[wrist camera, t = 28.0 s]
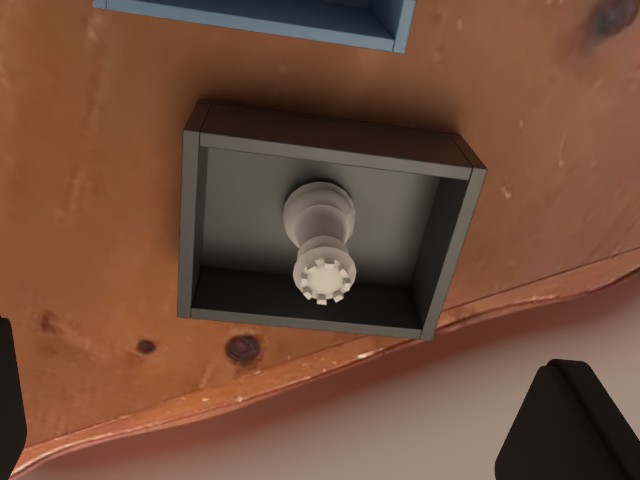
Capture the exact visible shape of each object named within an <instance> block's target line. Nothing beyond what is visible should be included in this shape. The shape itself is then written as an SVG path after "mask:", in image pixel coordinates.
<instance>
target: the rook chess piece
mask: <svg viewBox="0 0 640 480" xmlns="http://www.w3.org/2000/svg"><path fill="white" fill-rule="evenodd" d="M283 219H284V226H285V229H286V232H287V235H288V237H289V238H290V240H291V241H292V242H293V243H294V244H295V245H296V246H297V247H298V248H300V249H299V251H298V256H297V262H296V264H295V265H294V271H293V278H294V281H295V284H296V286H297V287H298V288H299V289H300V290H301V292H302V293H303V295H304V296H305V297H306V298H307V299H308V300H309V299H310V298H315V299H317V304H323V305H326V299H331V298H334V300H335V302H338V301H340V300H341V299H343V298H344V296H343V293H345V292H346V291H349V289H350V287H351V286H352V284H353V283H354V281H355V276H356V268H355V264H354V261H353V260H352V259H351V258H350V256H349V253H348V249H347V247H346V246H345V245H344V244H345V243H346V242H347V240H348V239H349V237H350V236H351V235H352V233H353V229H354V224H355V210H354V206H353V201H352V199H351V198H350V197H349V196H348V194H347V193H346V192H345V191H344V190H343V189H341V188H339V187H338V186H336V185H334V184H332V183H325V182H314V183H310V184H305V185H303V186H301V187H300V188H298V189H297V190H295V191H294V192H292V193H291V195H290V196H289V198H288V200H287V201H286V203H285V205H284V212H283Z"/></svg>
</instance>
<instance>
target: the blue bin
mask: <svg viewBox="0 0 640 480" xmlns="http://www.w3.org/2000/svg"><path fill="white" fill-rule="evenodd" d="M415 4H416V0H93V7H94V8H99V9H108V10H112V11H119V12H126V13H132V14H139V15H146V16H153V17H159V18H166V19H173V20H179V21H186V22H193V23H200V24H206V25H213V26H220V27H226V28H233V29H240V30H247V31H253V32H260V33H267V34H274V35H280V36H287V37H294V38H300V39H307V40H314V41H321V42H327V43H334V44H341V45H347V46H354V47H361V48H368V49H374V50H381V51H388V52H392V51H393V52H394V53H401V54H404V53H405V49H406V45H407V40H408V36H409V31H410V27H411V22H412V17H413V13H414V8H415Z"/></svg>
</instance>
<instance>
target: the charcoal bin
mask: <svg viewBox="0 0 640 480" xmlns="http://www.w3.org/2000/svg"><path fill="white" fill-rule="evenodd" d="M487 170H488V169H487V168H486V167H485V165H484V164H483V163H482V161H481V160H480V159H479V158H478V156H477V155H476V154H475V153H474V151H473V150H472V149H471V147H470V146H469V145H468V144H467V142H466V141H465V140H464V139H463V137H462V136H461V135H456V134H449V133H441V132H434V131H427V130H420V129H412V128H405V127H398V126H391V125H383V124H376V123H369V122H361V121H354V120H347V119H340V118H332V117H325V116H318V115H311V114H303V113H296V112H289V111H281V110H274V109H267V108H260V107H252V106H245V105H238V104H231V103H223V102H216V101H209V100H201V99H199V100H198V102H197V104H196V106H195V108H194V110H193V112H192V114H191V116H190V118H189V120H188V122H187V124H186V125H185V127H184V129H183V149H182V179H181V209H180V239H179V269H178V299H177V317H179V318H192V319H202V320H213V321H224V322H235V323H246V324H257V325H267V326H278V327H289V328H300V329H311V330H322V331H333V332H344V333H355V334H365V335H376V336H387V337H398V338H409V339H420V340H430V341H432V338H433V335H434V332H435V329H436V326H437V323H438V320H439V317H440V314H441V311H442V308H443V305H444V302H445V299H446V295H447V292H448V289H449V286H450V283H451V280H452V277H453V274H454V271H455V268H456V265H457V262H458V259H459V256H460V253H461V250H462V247H463V244H464V241H465V238H466V234H467V231H468V228H469V225H470V222H471V219H472V216H473V213H474V210H475V207H476V204H477V201H478V198H479V195H480V192H481V189H482V186H483V183H484V180H485V177H486V174H487ZM314 182H325V183H332V184H334V185H336V186H338V187H339V188H341V189H343V190H344V191H345V192H346V193H347V194H348V196H349V197H350V198H351V199H352V201H353V206H354V210H355V224H354V229H353V233H352V235H351V236H350V237H349V239H348V240H347V242H346V243H345V244H344V245H345V246H346V247H347V249H348V253H349V256H350V258H351V259H352V260H353V261H354V264H355V268H356V276H355V281H354V283H353V284H352V286H351V287H350V289H349V291H346V292H345V293H343V296H344V298H343V299H341V300H340V301H338V302H335V300H334V298H331V299H326V305H323V304H317V299H315V298H310V299H309V300H308V299H307V298H306V297H305V296H304V295H303V293H302V292H301V290H300V289H299V288H298V287H297V286H296V284H295V281H294V278H293V271H294V265H295V264H296V262H297V256H298V251H299V249H300V248H298V247H297V246H296V245H295V244H294V243H293V242H292V241H291V240H290V238H289V237H288V235H287V232H286V229H285V226H284V219H283V212H284V205H285V203H286V201H287V200H288V198H289V196H290V195H291V193H292V192H294V191H295V190H297V189H298V188H300V187H301V186H303V185H305V184H310V183H314Z"/></svg>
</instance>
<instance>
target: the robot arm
mask: <svg viewBox="0 0 640 480" xmlns="http://www.w3.org/2000/svg"><path fill="white" fill-rule="evenodd" d="M26 437H27V426H26V419H25V413H24V406H23V400H22V393H21V387H20V380H19V374H18V367H17V361H16V354H15V348H14V341H13V335H12V328H11V324H10V321H9V319H7V318H1V316H0V480H8V479H9V477H10V475H11V473H12V471H13V469H14V467H15V465H16V463H17V461H18V459H19V457H20V455H21V453H22V451H23V448H24V445H25V442H26ZM495 478H496V480H640V441H639V439H638V438H637V436H636V435H635V433H634V432H633V430H632V429H631V427H630V426H629V424H628V423H627V421H626V420H625V418H624V417H623V415H622V414H621V412H620V411H619V409H618V408H617V406H616V405H615V403H614V402H613V400H612V399H611V397H610V396H609V394H608V393H607V391H606V390H605V388H604V387H603V385H602V384H601V382H600V381H599V379H598V378H597V376H596V375H595V373H594V372H593V370H592V369H591V367H590V366H589V365H588V364H587V363H585V362H583V361H573V360H562V359H552V360H550V361H549V362H548V363H547V365H546V366H542V367H540V368H539V370H538V371H537V373H536V376H535V377H534V380H533V382H532V384H531V386H530V388H529V390H528V393H527V395H526V397H525V399H524V401H523V403H522V406H521V408H520V410H519V412H518V414H517V416H516V418H515V420H514V423H513V425H512V427H511V429H510V431H509V433H508V435H507V438H506V440H505V442H504V444H503V446H502V448H501V451H500V453H499V455H498V457H497V459H496V462H495Z"/></svg>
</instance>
